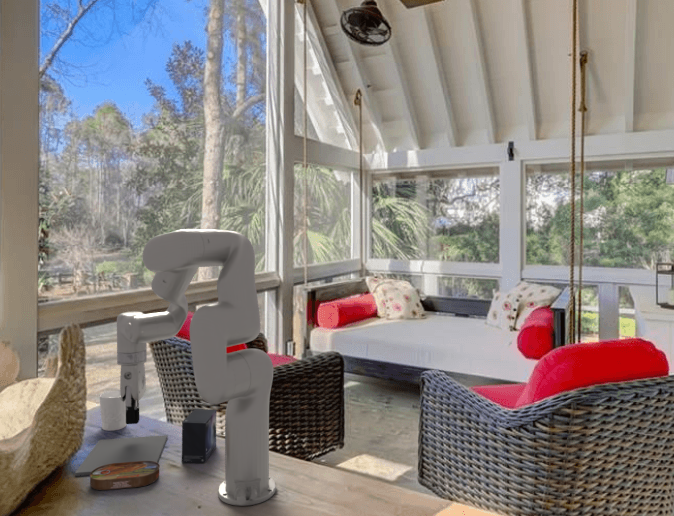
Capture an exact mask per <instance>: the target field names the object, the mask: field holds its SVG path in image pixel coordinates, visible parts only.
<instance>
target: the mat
mask: <svg viewBox="0 0 674 516" xmlns="http://www.w3.org/2000/svg"><path fill="white" fill-rule="evenodd" d="M168 438H169V437H168V434H167V435H166V434H165V435H164V434H163V435H153V436H137V437H136V436H135V437H124V438H123V437H122V438H120V437H119V438H105V439H99V440H98V442H97V443H95V446H94V447H93V448H92V449H91V450H90V452H89V454H88V455H87V456H86V457H85V458H84V460H83V461H82V463H81V464H80V466H79V467H78V468H77V470H76V471H75V472H74V476H75V477H80V475H81V477H83V476H90V473H91V472H92V471H93V470H94V469H96V468H98V467H100V466H103V465H107V464H112V463H124V462H137V461H154V462H157V463H158V464H159V461H160V459H159V458H161V456H162V453H163V450H164V447H165V446H166V443H167V441H168Z"/></svg>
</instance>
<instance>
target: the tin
mask: <svg viewBox="0 0 674 516" xmlns="http://www.w3.org/2000/svg"><path fill="white" fill-rule="evenodd" d="M160 466H161V465H160V464H159V462H158V463H157V462H154V461H137V462H124V463H112V464H107V465H103V466H100V467H98V468H96V469H94V470H93V471H92V472H91V473H90V475H89V479H90V481H89V483H90V487H91V488H92V489H94V490H97V491H111V490H123V489H131V488H132V489H133V488H141V487H145V486H148V485H151V484H153V483H154V482H156V481H157V480H158V478H159V476H160Z"/></svg>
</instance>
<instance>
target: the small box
mask: <svg viewBox="0 0 674 516" xmlns="http://www.w3.org/2000/svg"><path fill="white" fill-rule="evenodd" d="M181 424H182V425H181V428H182V429H181V463H186V464H187V463H190V464H191V463H192V464H193V463H194V464H206V463H207V461H208V459H209V457H210V456H211V455H212V453H213V452H214V451H215V449H216V447H217V409H211V408H210V409H209V408H208V409H205V408H194V409H193V410H192V412H190V413H189V414H188V415H187V416H186V418H185V419H183V421H182V423H181Z"/></svg>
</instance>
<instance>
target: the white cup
mask: <svg viewBox="0 0 674 516" xmlns="http://www.w3.org/2000/svg"><path fill="white" fill-rule="evenodd" d="M99 405H100V409H99V411H100V419H101V428H102V430H103V431H105V432H107V431H109V432H113V431H118V430H122V429H124V428H126V427H127V425H128V424H126V403H125V401H124V402H123V401H121V397H120V389H117V390H108V391H105V392H102V393H100V395H99Z"/></svg>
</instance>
